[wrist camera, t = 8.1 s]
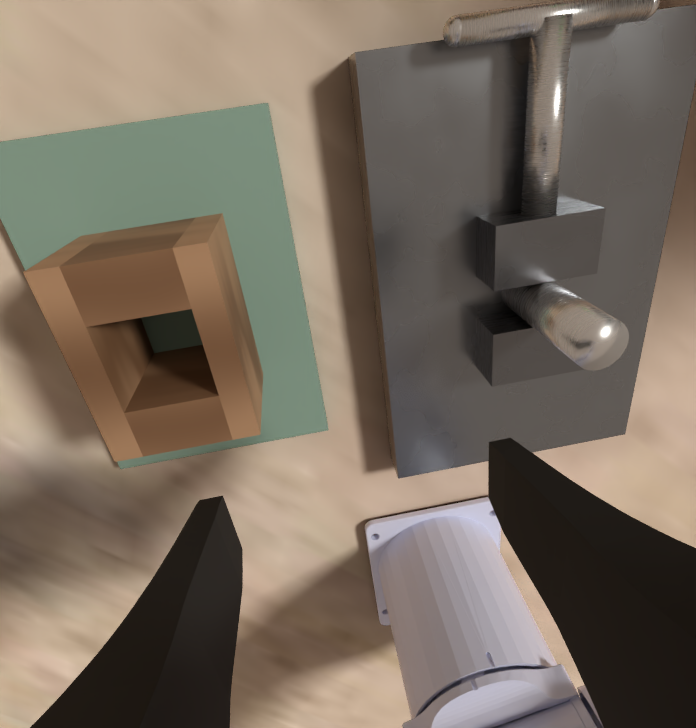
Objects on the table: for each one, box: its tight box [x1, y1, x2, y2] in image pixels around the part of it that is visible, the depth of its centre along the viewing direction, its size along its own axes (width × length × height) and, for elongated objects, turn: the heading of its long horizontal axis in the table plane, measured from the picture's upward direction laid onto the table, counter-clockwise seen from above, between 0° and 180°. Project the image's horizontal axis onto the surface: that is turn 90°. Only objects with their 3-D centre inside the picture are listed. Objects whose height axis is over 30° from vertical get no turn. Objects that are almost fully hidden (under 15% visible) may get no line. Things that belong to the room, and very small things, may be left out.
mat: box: [0, 103, 328, 469], centre depth 19 cm, size 14×10×1 cm
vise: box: [348, 0, 696, 478], centre depth 18 cm, size 18×12×7 cm, turn 7°
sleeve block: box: [23, 213, 263, 462], centre depth 17 cm, size 7×5×4 cm
